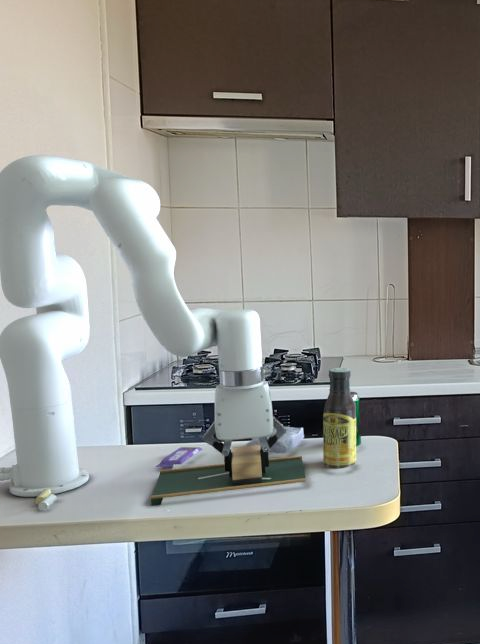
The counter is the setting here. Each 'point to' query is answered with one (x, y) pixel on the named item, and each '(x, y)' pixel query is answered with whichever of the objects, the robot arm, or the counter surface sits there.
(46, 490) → the chalk stick
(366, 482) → the counter surface
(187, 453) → the snack package
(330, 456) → the sauce bottle
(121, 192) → the robot arm
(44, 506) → the chalk stick
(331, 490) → the counter surface
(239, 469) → the eraser
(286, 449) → the stone block
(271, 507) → the counter surface
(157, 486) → the chalkboard
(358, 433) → the soda can
